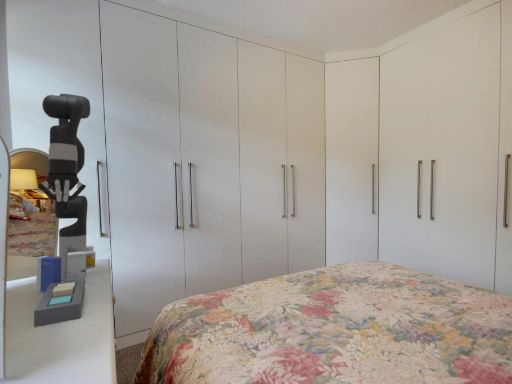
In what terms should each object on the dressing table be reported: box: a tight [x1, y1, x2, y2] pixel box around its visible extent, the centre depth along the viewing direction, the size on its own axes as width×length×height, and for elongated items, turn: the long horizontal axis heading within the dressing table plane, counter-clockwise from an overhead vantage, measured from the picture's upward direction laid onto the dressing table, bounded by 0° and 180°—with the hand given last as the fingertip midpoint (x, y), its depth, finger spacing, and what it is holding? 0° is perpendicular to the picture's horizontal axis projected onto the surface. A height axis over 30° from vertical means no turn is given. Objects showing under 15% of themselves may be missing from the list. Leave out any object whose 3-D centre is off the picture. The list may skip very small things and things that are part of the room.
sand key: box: [53, 284, 74, 297], centre depth 82 cm, size 5×5×4 cm
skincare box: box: [65, 251, 87, 282], centre depth 101 cm, size 6×4×12 cm
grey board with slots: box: [33, 278, 86, 327], centre depth 82 cm, size 24×10×4 cm, turn 30°
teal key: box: [49, 296, 72, 306], centre depth 76 cm, size 5×5×4 cm
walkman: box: [35, 255, 62, 293], centre depth 95 cm, size 8×3×12 cm, turn 75°
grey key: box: [58, 282, 75, 287], centre depth 88 cm, size 5×5×4 cm
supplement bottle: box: [86, 244, 96, 270], centre depth 125 cm, size 5×5×10 cm
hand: (62, 213), depth 86 cm, fingers closed
